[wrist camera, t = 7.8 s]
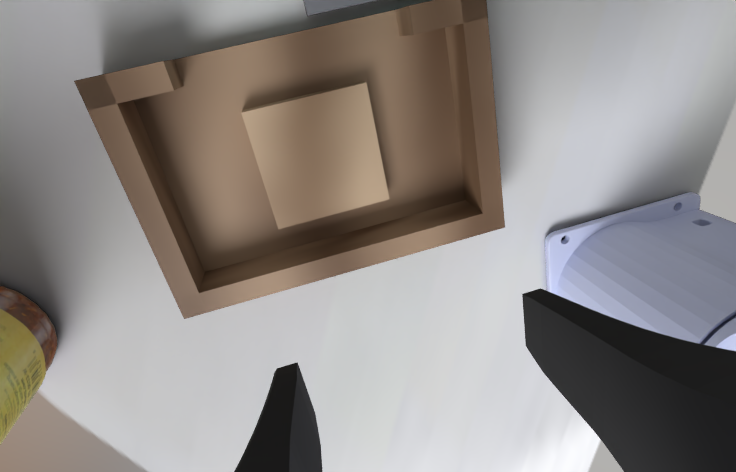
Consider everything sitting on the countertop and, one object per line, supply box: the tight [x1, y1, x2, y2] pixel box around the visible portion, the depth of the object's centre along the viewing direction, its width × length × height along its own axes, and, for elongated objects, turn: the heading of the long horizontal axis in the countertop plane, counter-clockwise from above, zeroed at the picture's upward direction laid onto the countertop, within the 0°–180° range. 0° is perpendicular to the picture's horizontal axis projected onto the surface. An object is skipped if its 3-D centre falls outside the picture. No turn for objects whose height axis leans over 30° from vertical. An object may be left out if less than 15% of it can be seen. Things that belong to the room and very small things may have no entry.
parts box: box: [74, 0, 505, 319], centre depth 19 cm, size 15×10×3 cm, turn 102°
